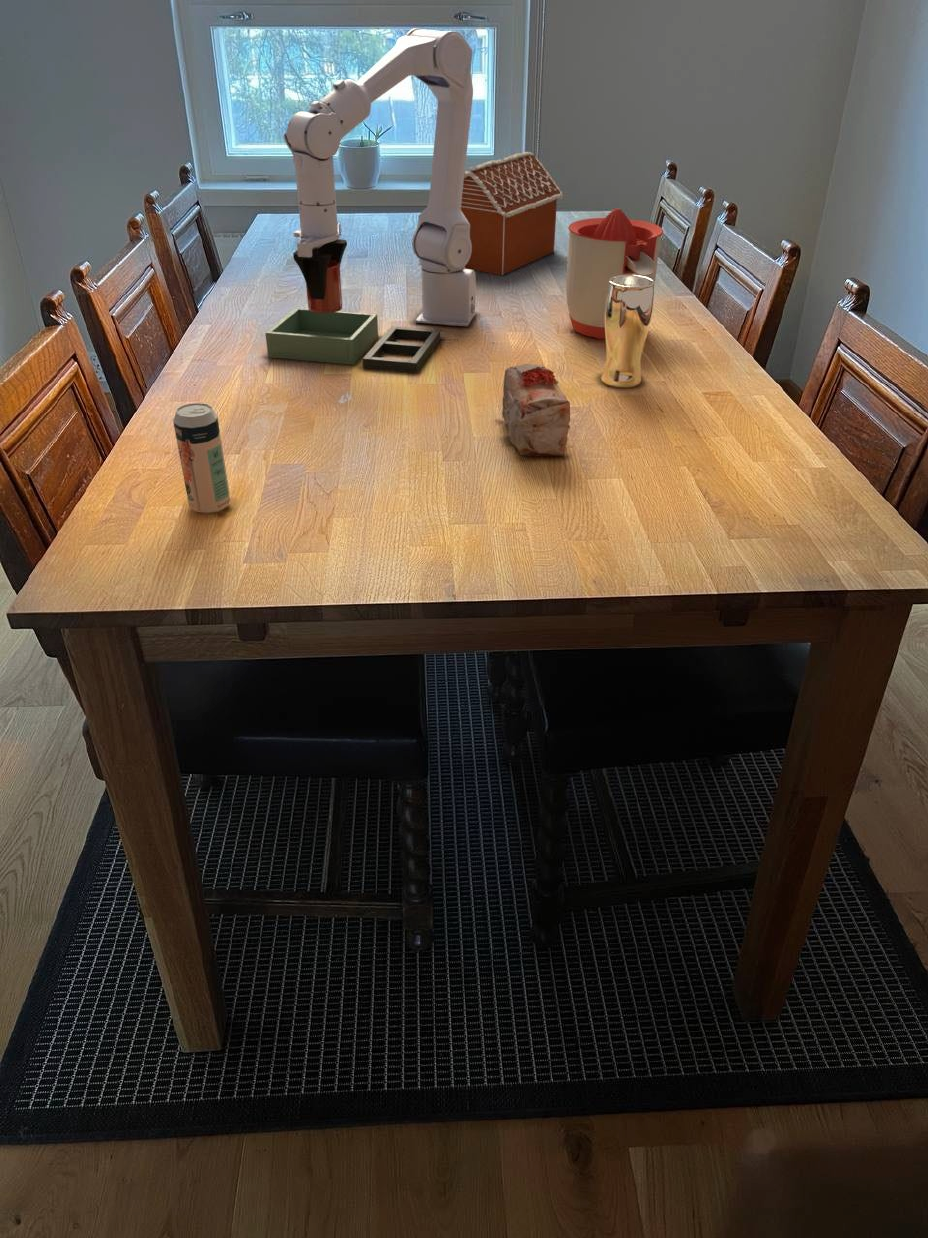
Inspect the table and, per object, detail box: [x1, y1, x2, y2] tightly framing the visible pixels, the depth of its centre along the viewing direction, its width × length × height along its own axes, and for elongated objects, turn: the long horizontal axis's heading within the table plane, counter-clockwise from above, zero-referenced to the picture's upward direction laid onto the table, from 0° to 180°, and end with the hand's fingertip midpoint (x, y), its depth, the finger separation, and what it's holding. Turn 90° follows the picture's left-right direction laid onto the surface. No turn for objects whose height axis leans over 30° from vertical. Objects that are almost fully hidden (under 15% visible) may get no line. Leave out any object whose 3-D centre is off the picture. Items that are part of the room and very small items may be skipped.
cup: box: [305, 259, 343, 313], centre depth 146 cm, size 6×6×7 cm
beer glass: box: [600, 275, 656, 388], centre depth 137 cm, size 7×7×15 cm
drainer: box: [362, 325, 442, 373], centre depth 150 cm, size 9×16×2 cm, turn 168°
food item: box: [501, 363, 571, 457], centre depth 120 cm, size 14×8×10 cm, turn 10°
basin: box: [264, 307, 379, 366], centre depth 151 cm, size 15×14×4 cm
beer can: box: [172, 402, 232, 515], centre depth 104 cm, size 5×5×12 cm
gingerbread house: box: [441, 151, 564, 276], centre depth 194 cm, size 18×26×20 cm
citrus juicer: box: [565, 207, 664, 341], centre depth 155 cm, size 16×17×20 cm
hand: (324, 292), depth 147 cm, fingers closed on cup, 5 cm apart
